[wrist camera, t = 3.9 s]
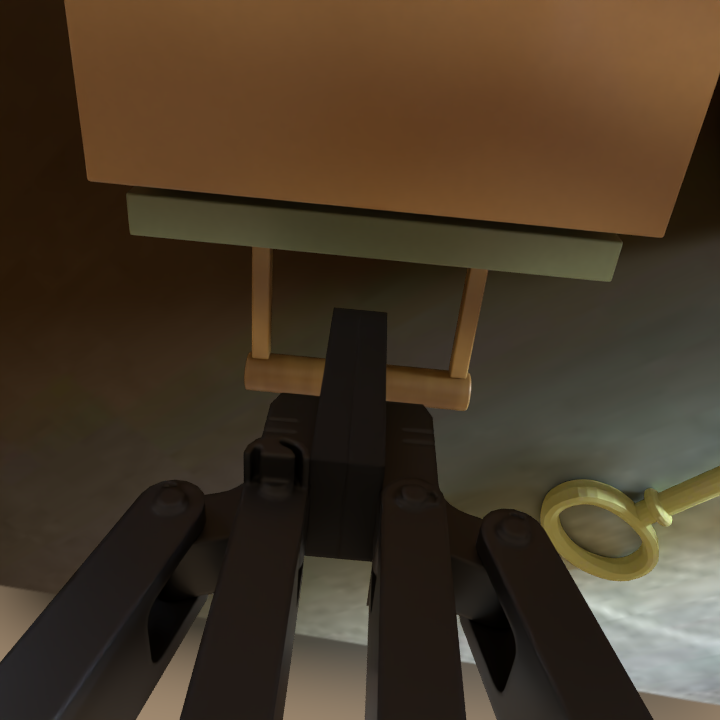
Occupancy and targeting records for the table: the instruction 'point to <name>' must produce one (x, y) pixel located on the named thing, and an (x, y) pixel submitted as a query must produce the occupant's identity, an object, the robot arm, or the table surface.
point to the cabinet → (403, 103)
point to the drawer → (378, 241)
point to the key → (634, 514)
